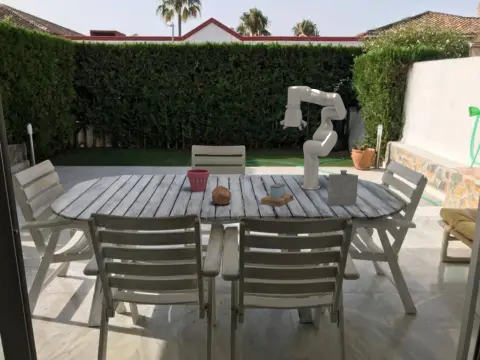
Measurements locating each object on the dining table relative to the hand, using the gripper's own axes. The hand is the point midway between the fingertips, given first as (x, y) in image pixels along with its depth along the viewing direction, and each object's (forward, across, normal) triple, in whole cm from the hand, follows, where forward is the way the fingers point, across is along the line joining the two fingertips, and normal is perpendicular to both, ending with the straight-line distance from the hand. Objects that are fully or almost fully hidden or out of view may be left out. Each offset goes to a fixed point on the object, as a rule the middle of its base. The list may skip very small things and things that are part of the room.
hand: (293, 135), depth 248 cm
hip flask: (+36, +35, -8) cm, 51 cm away
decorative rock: (+36, -25, -42) cm, 61 cm away
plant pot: (+36, -55, -24) cm, 70 cm away
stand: (+36, +1, -22) cm, 42 cm away
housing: (+33, +1, -22) cm, 40 cm away
